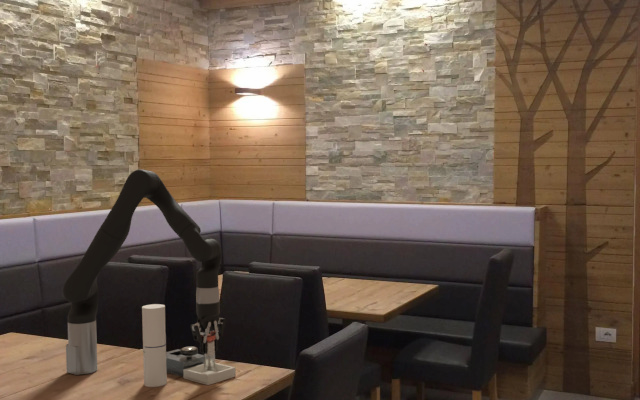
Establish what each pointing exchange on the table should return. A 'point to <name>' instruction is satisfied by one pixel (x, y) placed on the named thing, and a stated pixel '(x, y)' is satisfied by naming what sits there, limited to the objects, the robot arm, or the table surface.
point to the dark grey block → (182, 360)
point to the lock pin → (210, 353)
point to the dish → (209, 373)
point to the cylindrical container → (154, 345)
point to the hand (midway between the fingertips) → (209, 351)
